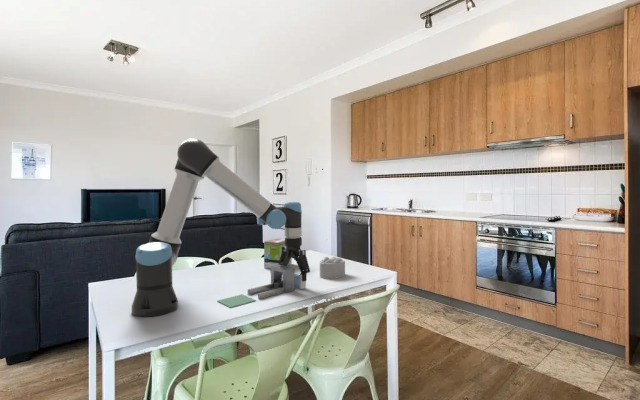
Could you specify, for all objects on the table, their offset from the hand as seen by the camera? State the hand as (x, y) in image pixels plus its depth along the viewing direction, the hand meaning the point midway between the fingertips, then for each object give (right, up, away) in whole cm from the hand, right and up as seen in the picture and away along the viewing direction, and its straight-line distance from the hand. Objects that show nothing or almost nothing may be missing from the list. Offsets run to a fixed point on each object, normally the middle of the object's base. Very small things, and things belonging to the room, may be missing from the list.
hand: (293, 285), depth 152 cm
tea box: (-11, +1, +38) cm, 39 cm away
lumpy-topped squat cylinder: (+17, 0, +17) cm, 24 cm away
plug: (-3, 0, -3) cm, 4 cm away
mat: (-21, -1, -20) cm, 29 cm away
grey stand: (-9, -1, -9) cm, 13 cm away
